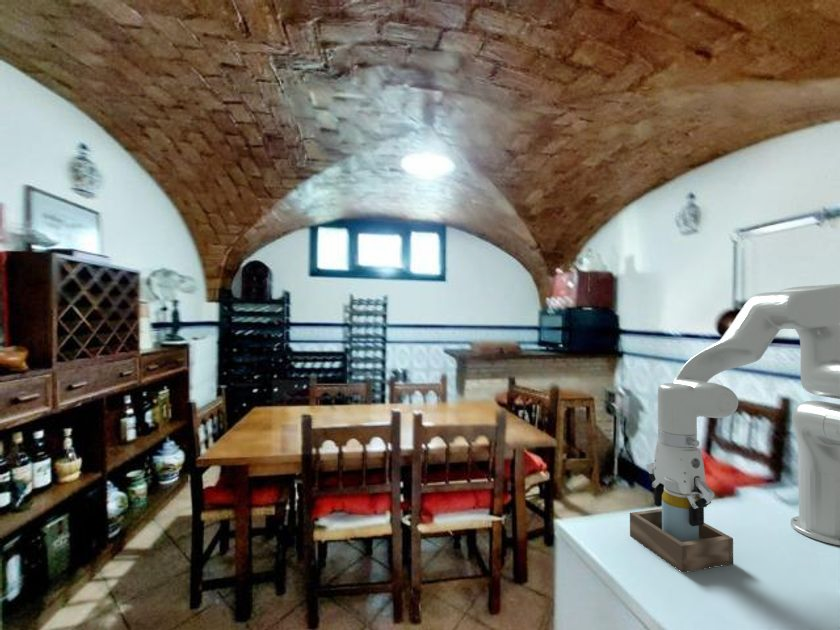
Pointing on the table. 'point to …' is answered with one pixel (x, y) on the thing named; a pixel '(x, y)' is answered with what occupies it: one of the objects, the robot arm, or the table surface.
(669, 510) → the bottle
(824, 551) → the table surface
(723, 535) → the brown box
